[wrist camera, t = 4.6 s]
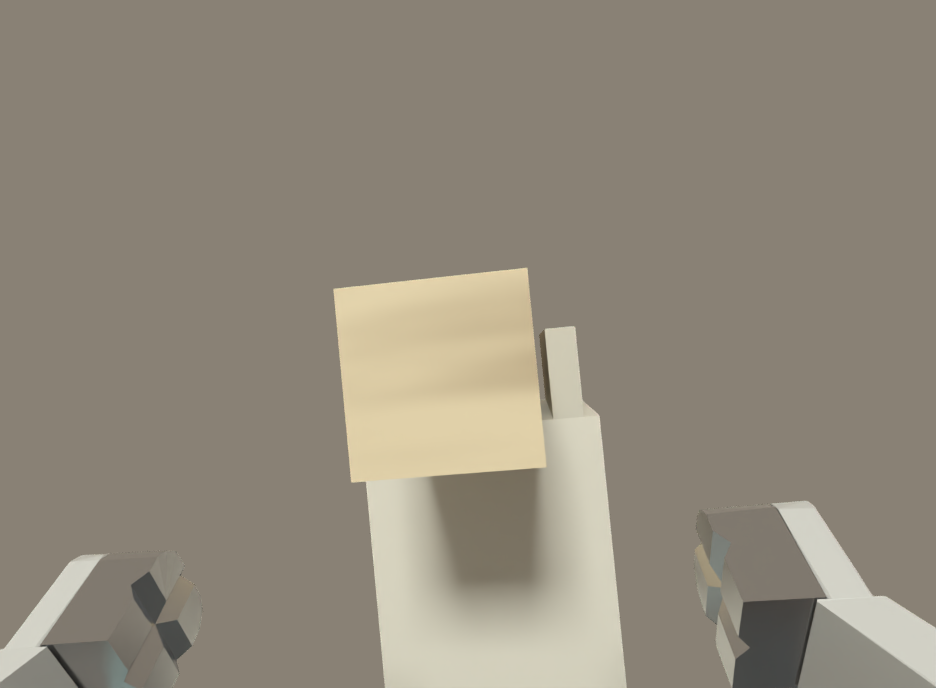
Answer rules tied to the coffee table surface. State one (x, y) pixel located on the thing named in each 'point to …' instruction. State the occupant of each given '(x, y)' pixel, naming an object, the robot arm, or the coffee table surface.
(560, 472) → the bracket post
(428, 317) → the rail
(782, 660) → the robot arm
